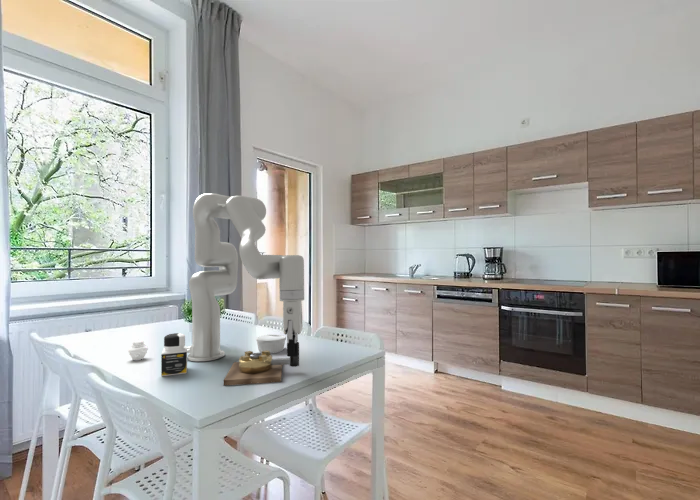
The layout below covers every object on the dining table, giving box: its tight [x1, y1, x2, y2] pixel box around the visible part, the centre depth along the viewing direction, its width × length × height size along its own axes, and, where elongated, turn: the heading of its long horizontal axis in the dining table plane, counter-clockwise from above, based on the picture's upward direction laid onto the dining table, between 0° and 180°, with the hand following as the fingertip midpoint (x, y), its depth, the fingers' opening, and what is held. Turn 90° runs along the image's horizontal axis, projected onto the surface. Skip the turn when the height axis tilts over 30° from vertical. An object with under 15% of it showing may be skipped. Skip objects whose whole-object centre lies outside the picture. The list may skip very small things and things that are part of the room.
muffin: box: [127, 339, 149, 361], centre depth 129 cm, size 6×6×7 cm
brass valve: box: [238, 341, 300, 373], centre depth 112 cm, size 18×10×7 cm, turn 94°
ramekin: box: [255, 334, 287, 355], centre depth 139 cm, size 11×11×5 cm
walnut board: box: [223, 361, 284, 386], centre depth 111 cm, size 16×18×2 cm
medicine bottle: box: [160, 332, 188, 377], centre depth 114 cm, size 7×7×12 cm
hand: (292, 355), depth 108 cm, fingers closed
